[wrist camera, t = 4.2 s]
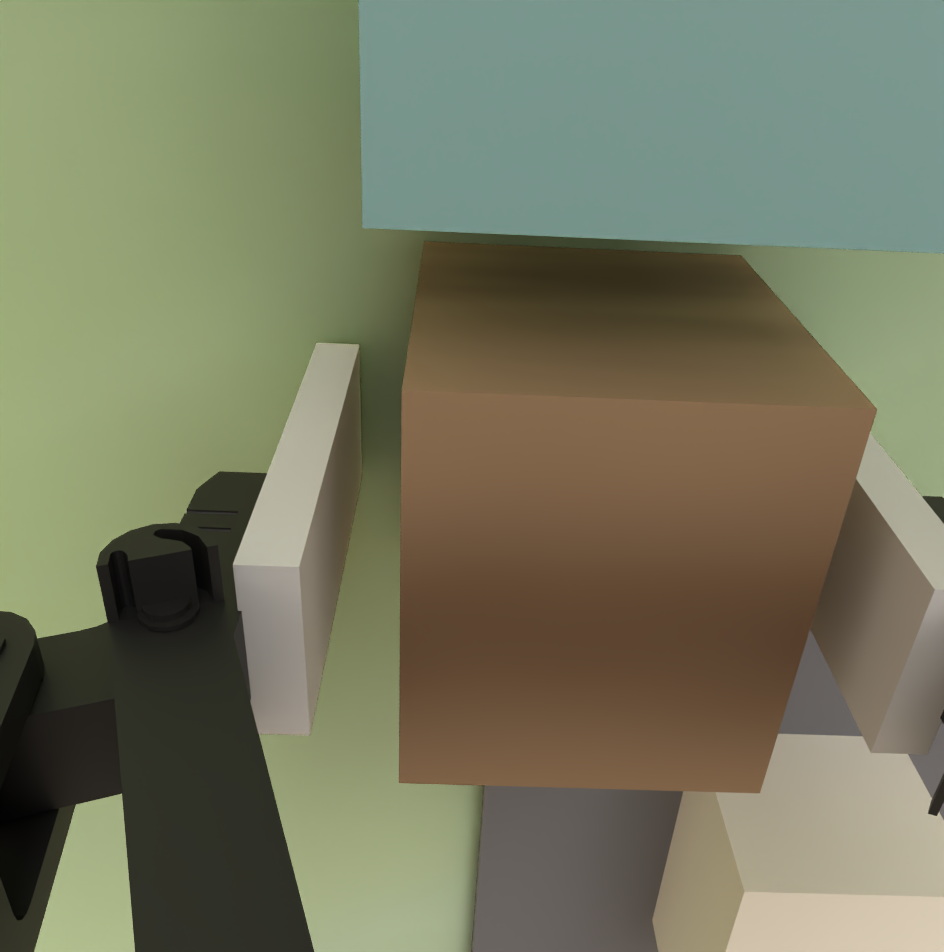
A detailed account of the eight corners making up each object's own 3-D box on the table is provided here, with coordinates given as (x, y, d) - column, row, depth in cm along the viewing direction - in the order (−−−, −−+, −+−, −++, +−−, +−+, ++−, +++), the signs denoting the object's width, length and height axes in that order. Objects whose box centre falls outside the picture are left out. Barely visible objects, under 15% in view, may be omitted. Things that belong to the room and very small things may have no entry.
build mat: (498, 586, 19) (506, 752, 15) (1153, 609, 19) (1326, 776, 15) (469, 974, 26) (469, 1154, 22) (947, 985, 26) (1030, 1165, 22)
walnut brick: (424, 239, 15) (401, 389, 10) (739, 254, 15) (877, 409, 10) (418, 549, 18) (399, 783, 13) (678, 558, 19) (759, 793, 13)
